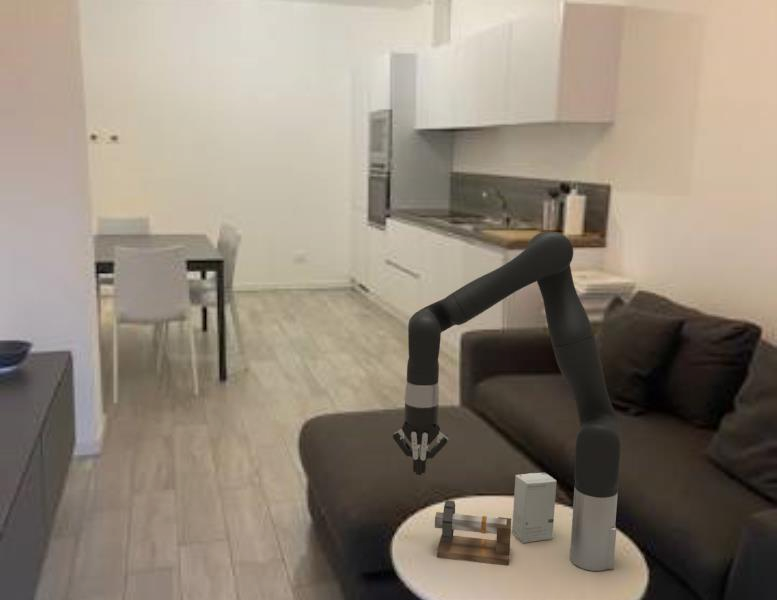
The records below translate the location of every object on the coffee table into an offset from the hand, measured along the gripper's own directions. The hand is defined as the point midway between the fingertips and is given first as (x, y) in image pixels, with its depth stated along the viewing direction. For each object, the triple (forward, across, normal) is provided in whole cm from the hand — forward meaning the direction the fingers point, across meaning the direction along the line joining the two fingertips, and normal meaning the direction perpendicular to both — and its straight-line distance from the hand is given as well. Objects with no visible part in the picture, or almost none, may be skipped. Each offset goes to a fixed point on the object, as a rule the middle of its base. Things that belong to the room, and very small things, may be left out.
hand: (419, 473), depth 175 cm
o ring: (+15, -7, 0) cm, 17 cm away
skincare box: (+18, -26, -11) cm, 33 cm away
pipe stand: (+18, -13, 0) cm, 22 cm away
